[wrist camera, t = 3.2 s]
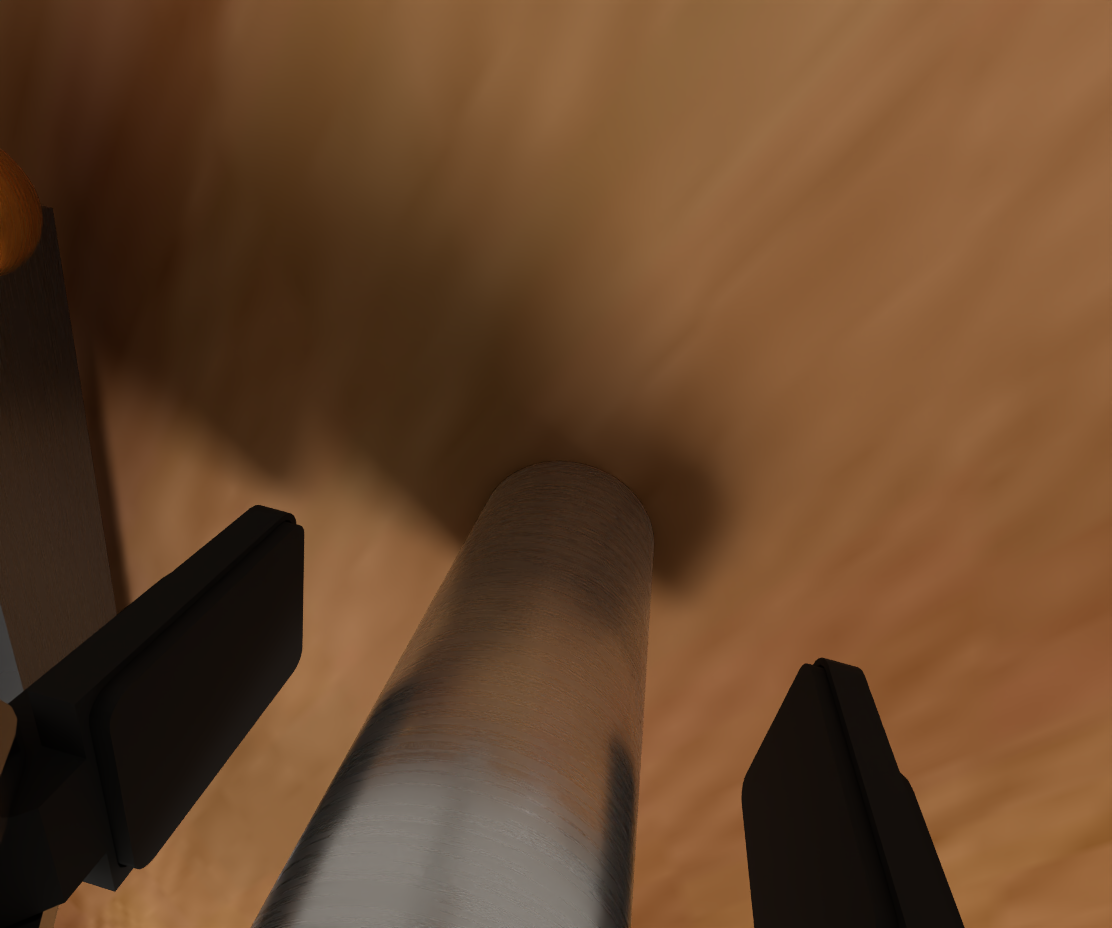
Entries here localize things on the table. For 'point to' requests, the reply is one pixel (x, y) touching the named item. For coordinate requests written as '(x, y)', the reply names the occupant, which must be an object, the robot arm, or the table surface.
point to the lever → (42, 455)
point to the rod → (499, 733)
